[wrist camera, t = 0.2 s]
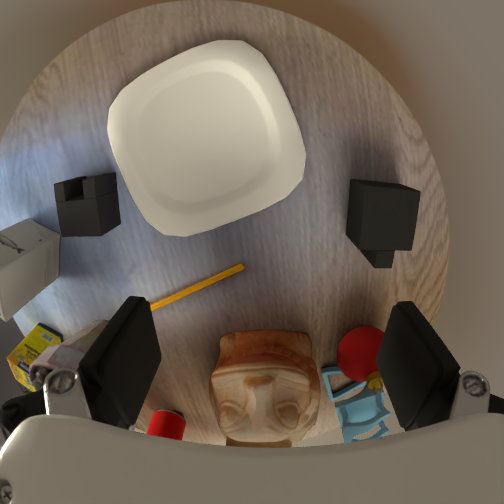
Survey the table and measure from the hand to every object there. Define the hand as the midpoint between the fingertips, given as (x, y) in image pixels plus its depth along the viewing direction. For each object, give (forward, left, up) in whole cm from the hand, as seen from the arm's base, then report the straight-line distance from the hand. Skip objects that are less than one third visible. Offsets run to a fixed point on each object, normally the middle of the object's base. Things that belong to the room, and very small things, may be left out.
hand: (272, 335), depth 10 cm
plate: (-8, -7, -20) cm, 22 cm away
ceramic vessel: (+23, 0, -20) cm, 30 cm away
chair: (+24, +13, -20) cm, 34 cm away
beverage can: (+37, -17, -20) cm, 45 cm away
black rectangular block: (-1, +11, -19) cm, 22 cm away
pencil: (+10, -11, -20) cm, 24 cm away
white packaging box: (+4, -32, -20) cm, 37 cm away
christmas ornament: (+16, +12, -20) cm, 28 cm away
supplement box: (+22, -38, -20) cm, 48 cm away
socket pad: (-2, -20, -19) cm, 28 cm away
